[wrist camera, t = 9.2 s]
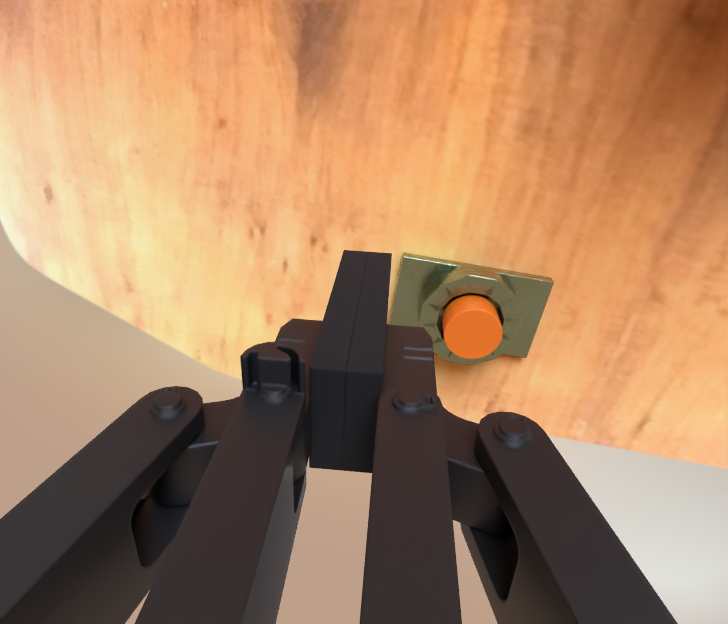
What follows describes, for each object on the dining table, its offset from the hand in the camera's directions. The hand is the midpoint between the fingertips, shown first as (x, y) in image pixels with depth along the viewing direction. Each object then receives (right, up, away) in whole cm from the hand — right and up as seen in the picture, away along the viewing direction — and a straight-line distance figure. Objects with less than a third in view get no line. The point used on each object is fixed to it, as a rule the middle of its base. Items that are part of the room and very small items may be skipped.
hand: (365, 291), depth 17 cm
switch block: (+7, 0, +19) cm, 20 cm away
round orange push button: (+7, -1, +17) cm, 19 cm away
